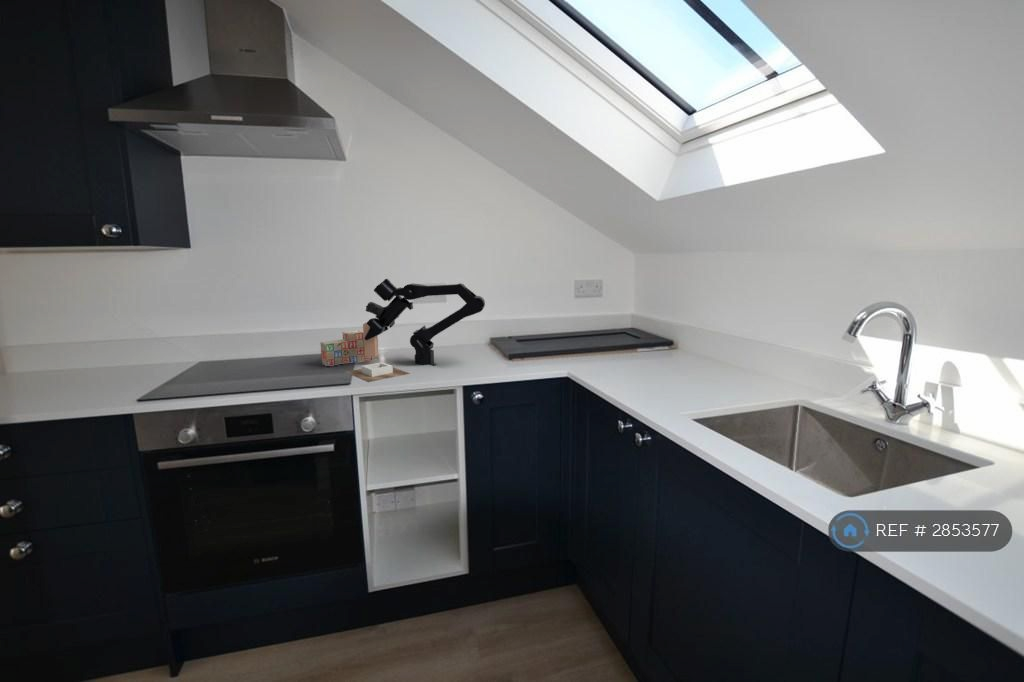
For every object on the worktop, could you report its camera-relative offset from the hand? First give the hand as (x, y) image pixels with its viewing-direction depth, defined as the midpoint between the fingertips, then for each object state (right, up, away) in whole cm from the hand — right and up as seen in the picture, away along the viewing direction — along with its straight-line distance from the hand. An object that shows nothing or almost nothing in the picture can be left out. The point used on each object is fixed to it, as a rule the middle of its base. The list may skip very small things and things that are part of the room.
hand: (367, 338), depth 182 cm
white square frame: (+7, -12, -12) cm, 18 cm away
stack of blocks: (-10, -10, +11) cm, 18 cm away
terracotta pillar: (+2, -7, +1) cm, 7 cm away
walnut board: (+7, -14, -11) cm, 19 cm away
